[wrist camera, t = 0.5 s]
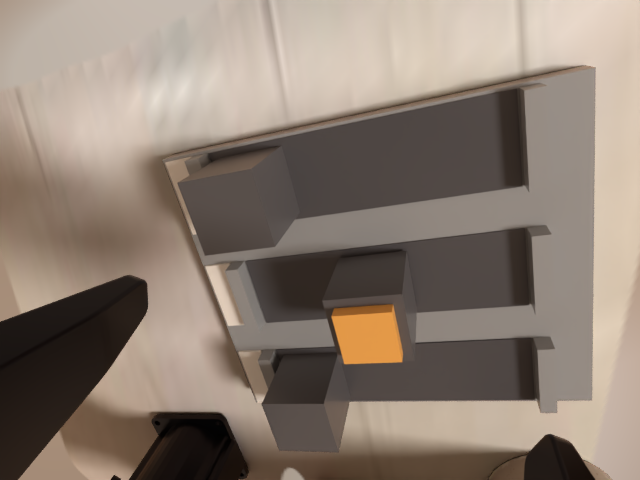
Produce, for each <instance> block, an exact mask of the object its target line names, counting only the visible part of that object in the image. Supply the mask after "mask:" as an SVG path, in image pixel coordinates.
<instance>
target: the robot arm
mask: <svg viewBox="0 0 640 480" xmlns="http://www.w3.org/2000/svg"><path fill="white" fill-rule="evenodd" d="M147 309H148V292H147V283H146V281H145V280H143V279H140V278H138V277H135V276H132V275H126V276H123V277H120V278H118V279H115V280H112V281H110V282H107V283H104V284H101V285H99V286H96V287H93V288H91V289H88V290H85V291H82V292H80V293H77V294H74V295H72V296H69V297H66V298H63V299H61V300H58V301H55V302H53V303H50V304H47V305H44V306H42V307H39V308H36V309H34V310H31V311H28V312H25V313H23V314H20V315H17V316H15V317H12V318H9V319H7V320H4V321H1V322H0V480H18V479H19V478H20V477H21V475H22V474H23V473H24V472H25V470H26V469H27V468H28V467H29V466H30V464H31V463H32V462H33V461H34V460H35V458H36V457H37V456H38V455H39V454H40V452H41V451H42V450H43V449H44V448H45V446H46V445H47V444H48V443H49V442H50V440H51V439H52V438H53V437H54V436H55V434H56V433H57V432H58V431H59V430H60V428H61V427H62V426H63V425H64V424H65V422H66V421H67V420H68V419H69V418H70V416H71V415H72V414H73V413H74V412H75V410H76V409H77V408H78V407H79V405H80V404H81V403H82V402H83V401H84V399H85V398H86V397H87V396H88V395H89V393H90V392H91V391H92V390H93V389H94V387H95V386H96V385H97V384H98V383H99V381H100V380H101V379H102V378H103V376H104V375H105V374H106V373H107V371H108V370H109V368H110V367H111V366H112V364H113V363H114V361H115V360H116V358H117V357H118V355H119V354H120V352H121V351H122V349H123V348H124V346H125V345H126V343H127V342H128V340H129V339H130V337H131V336H132V334H133V333H134V331H135V330H136V328H137V327H138V325H139V324H140V322H141V321H142V319H143V318H144V316H145V314H146V312H147ZM152 424H153V426H154V428H155V430H156V431H157V433H158V435H159V436H158V437H157V439H156V440H155V442H154V443H153V445H152V446H151V448H150V449H149V451H148V452H147V454H146V455H145V457H144V458H143V460H142V461H141V463H140V464H139V465H138V467H137V468H136V470H135V471H134V473H133V474H132V476H131V477H130V479H129V480H238V479H245V478H246V477H247V475H248V473H249V470H248V468H247V466H246V463H245V461H244V459H243V456H242V454H241V452H240V449H239V447H238V445H237V443H236V440H235V438H234V436H233V433H232V431H231V429H230V426H229V424H228V422H227V419H226V418H225V417H224V416H222V415H177V414H157V415H155V416H154V418H153V419H152ZM111 480H121V479H120V478H119V477H117V476H115V475H114V476H113V477H112V478H111ZM524 480H596V479H595V478H594V476H593V475H592V473H591V472H590V470H589V469H588V467H587V466H586V464H585V463H584V461H583V460H582V458H581V456H580V455H579V453H578V452H577V450H576V449H575V447H574V446H573V445H572V444H571V443H570V442H569V441H568V440H565V439H563V438H560V437H557V436H555V435H552V434H548V435H545V436H544V437H543V438H542V439H541V440H540V441H539V442H538V443H537V444H536V445H535V447H534V448H533V449H532V450H531V451H530V452H529V453H528V455H527V456H526V459H525V464H524Z"/></svg>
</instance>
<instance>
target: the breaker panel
mask: <svg viewBox="0 0 640 480" xmlns="http://www.w3.org/2000/svg"><path fill="white" fill-rule="evenodd" d="M595 72H596V67H591V66H586V65H585V66H580V67H576V68H571V69H566V70H562V71H557V72H552V73H548V74H543V75H539V76H534V77H529V78H525V79H520V80H515V81H511V82H506V83H502V84H497V85H492V86H488V87H483V88H478V89H474V90H469V91H464V92H460V93H455V94H451V95H446V96H441V97H437V98H432V99H427V100H423V101H418V102H413V103H409V104H404V105H400V106H395V107H390V108H386V109H381V110H376V111H372V112H367V113H363V114H358V115H353V116H349V117H344V118H339V119H335V120H330V121H325V122H321V123H316V124H312V125H307V126H302V127H298V128H293V129H288V130H284V131H279V132H274V133H270V134H265V135H261V136H256V137H251V138H247V139H242V140H237V141H233V142H228V143H224V144H219V145H214V146H210V147H205V148H200V149H196V150H191V151H186V152H182V153H177V154H173V155H171V156H169V157H167V158H165V159H163V160H162V161H163V163H164V166H165V168H166V171H167V173H168V176H169V179H170V181H171V184H172V186H173V189H174V192H175V194H176V197H177V199H178V202H179V204H180V207H181V210H182V212H183V215H184V217H185V220H186V222H187V225H188V228H189V230H190V233H191V235H192V238H193V241H194V243H195V246H196V248H197V251H198V253H199V256H200V259H201V261H202V264H203V266H204V269H205V271H206V274H207V277H208V279H209V282H210V284H211V287H212V290H213V292H214V295H215V297H216V300H217V302H218V305H219V308H220V310H221V313H222V315H223V318H224V320H225V323H226V326H227V328H228V331H229V333H230V336H231V339H232V341H233V344H234V346H235V349H236V351H237V354H238V357H239V359H240V362H241V364H242V367H243V369H244V372H245V375H246V377H247V380H248V382H249V385H250V388H251V390H252V393H253V395H254V398H255V400H256V402H262V406H263V409H264V412H265V414H266V417H267V419H268V422H269V425H270V427H271V430H272V433H273V435H274V438H275V440H276V443H277V446H278V448H279V450H281V451H311V452H339V448H340V444H341V439H342V434H343V430H344V425H345V420H346V416H347V411H348V406H349V402H377V401H537V402H538V406H539V409H540V412H541V413H557V401H579V400H592V353H593V259H594V166H595ZM400 251H407V256H408V262H409V267H410V273H411V278H412V284H413V290H414V295H415V301H416V307H417V321H416V344H415V361H402V362H396V363H365V364H344V363H339V360H338V356H337V353H336V349H335V345H334V342H333V338H332V335H331V331H330V327H329V324H328V320H327V316H326V313H325V309H324V306H323V302H322V300H323V297H324V295H325V292H326V290H327V287H328V285H329V282H330V280H331V277H332V275H333V272H334V270H335V267H336V265H337V262H338V260H339V258H346V257H355V256H364V255H373V254H382V253H391V252H400Z"/></svg>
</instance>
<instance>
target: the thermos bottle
mask: <svg viewBox="0 0 640 480" xmlns="http://www.w3.org/2000/svg"><path fill="white" fill-rule="evenodd" d="M526 456H527V455H525V456H520V457H517V458H514V459H511V460H509V461H507V462H505V463H504V464H502V465H500V466H499V467H498V468H497V469H496V470H494V472H493V473H492V474H491V476H490V477H489V480H524V464H525V459H526ZM583 461H584V460H583ZM584 463H585V464H586V466H587V467H588V469H589V470H590V472H591V473H592V475H593V476H594V478H595V479H596V480H612V479H611V478H610V476H609V475H608V474H606V473H605V472H604V471H602V470H601V469H600V468H598V467H596V466H595V465H593V464H591V463H589V462H587V461H584Z"/></svg>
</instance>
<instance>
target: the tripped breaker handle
mask: <svg viewBox="0 0 640 480" xmlns="http://www.w3.org/2000/svg"><path fill="white" fill-rule="evenodd" d="M322 302H323V306H324V309H325V313H326V316H327V320H328V324H329V327H330V331H331V335H332V338H333V342H334V345H335V349H336V353H337V356H338V360H339V363H344V364H365V363H396V362H402V361H415V344H416V321H417V307H416V301H415V295H414V290H413V284H412V278H411V273H410V267H409V262H408V256H407V251H400V252H391V253H382V254H373V255H364V256H355V257H346V258H339V260H338V262H337V265H336V267H335V270H334V272H333V275H332V277H331V280H330V282H329V285H328V287H327V290H326V292H325V295H324V297H323V300H322Z"/></svg>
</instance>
